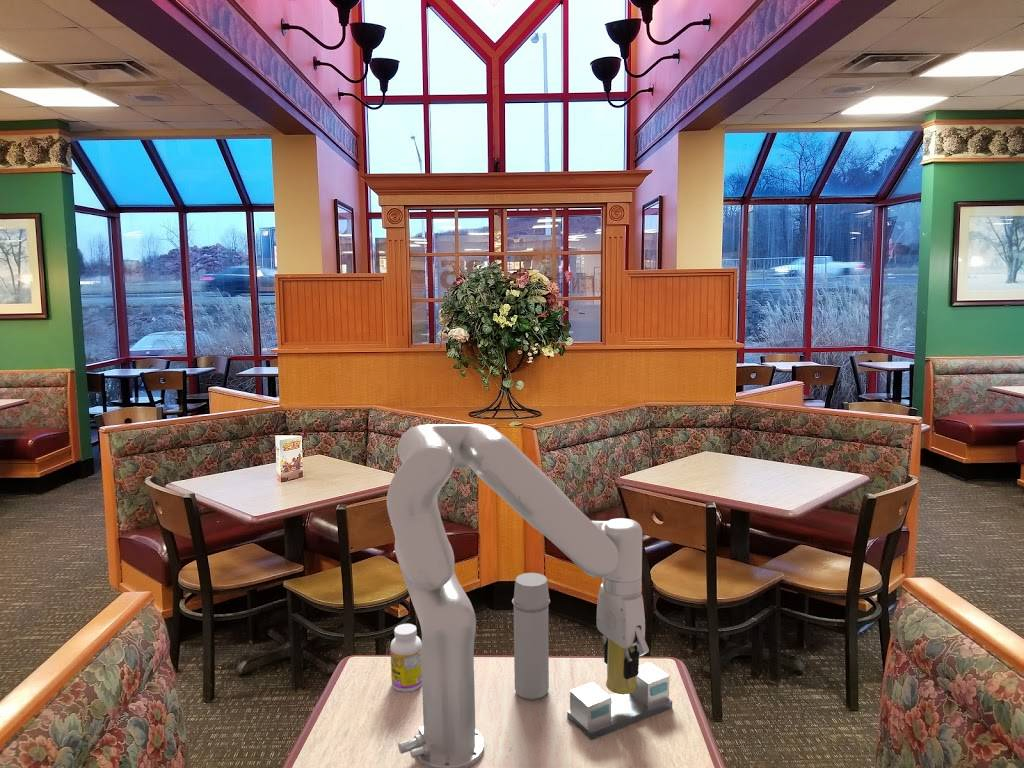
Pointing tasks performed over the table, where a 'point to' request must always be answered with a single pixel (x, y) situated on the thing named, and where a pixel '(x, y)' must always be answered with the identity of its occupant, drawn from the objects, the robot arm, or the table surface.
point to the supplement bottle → (406, 658)
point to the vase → (618, 670)
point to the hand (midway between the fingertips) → (621, 668)
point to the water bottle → (531, 635)
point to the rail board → (619, 703)
